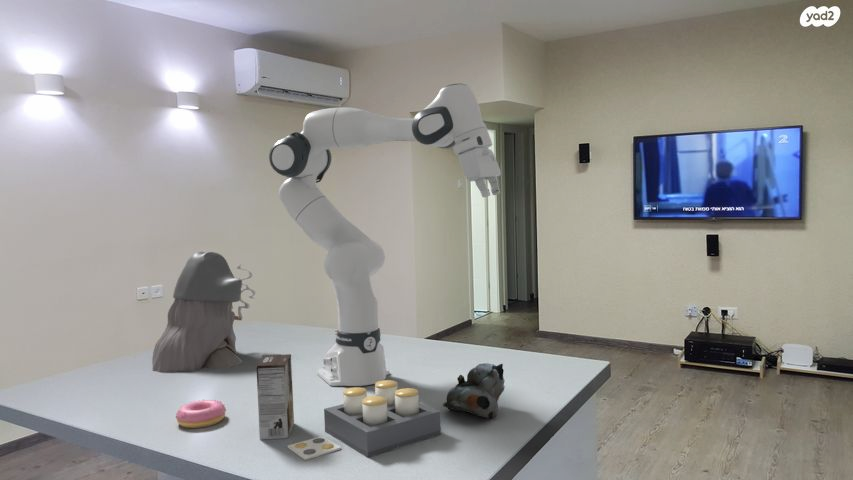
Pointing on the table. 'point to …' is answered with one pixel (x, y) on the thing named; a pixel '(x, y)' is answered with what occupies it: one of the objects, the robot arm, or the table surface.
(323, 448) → the card
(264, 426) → the coffee box
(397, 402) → the button
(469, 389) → the lucky cat figurine
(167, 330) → the bust
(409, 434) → the board
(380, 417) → the button
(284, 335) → the table surface
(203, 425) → the doughnut
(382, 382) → the button
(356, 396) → the button
